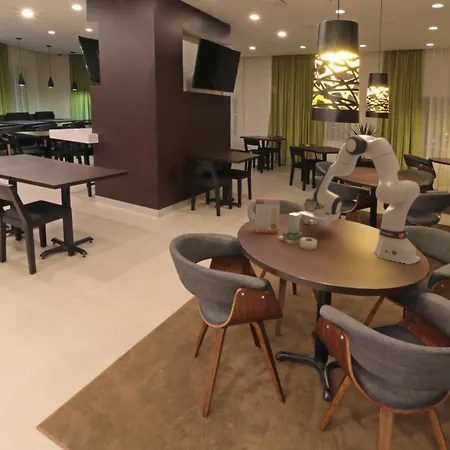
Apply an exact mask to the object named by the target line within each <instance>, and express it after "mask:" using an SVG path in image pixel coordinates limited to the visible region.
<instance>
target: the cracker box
mask: <svg viewBox="0 0 450 450" xmlns="http://www.w3.org/2000/svg"><path fill="white" fill-rule="evenodd" d="M255 200H256V201H255V221H254V233H258V234H272V235H275V234H276V235H277V234H279V225H280V211H281V210H280V209H281V208H280V207H281V197H270V196H269V197H266V196H256V198H255Z"/></svg>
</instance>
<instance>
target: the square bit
mask: <svg viewBox="0 0 450 450" xmlns="http://www.w3.org/2000/svg"><path fill="white" fill-rule="evenodd" d="M297 213H298V212H291V213H288V219H287V220H288V222H287V231H288V232H287V233H289V234H292V235H296V234H299V232H300V225H301V223H300V221H301V220H300V214H297Z"/></svg>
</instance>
